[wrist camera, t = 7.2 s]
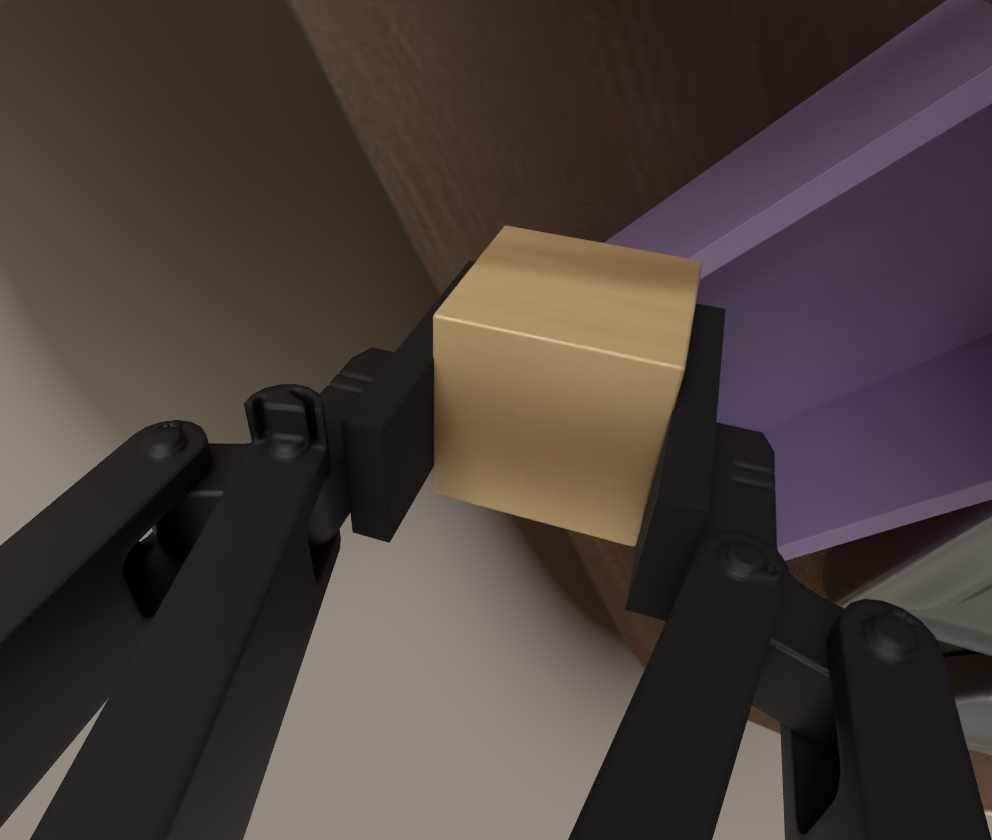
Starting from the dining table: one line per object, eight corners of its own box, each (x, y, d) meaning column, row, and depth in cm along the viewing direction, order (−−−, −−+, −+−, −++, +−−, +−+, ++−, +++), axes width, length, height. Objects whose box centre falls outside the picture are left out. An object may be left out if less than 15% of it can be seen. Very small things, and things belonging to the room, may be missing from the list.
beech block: (504, 224, 15) (431, 314, 12) (703, 259, 15) (686, 368, 11) (493, 384, 18) (431, 494, 15) (659, 422, 17) (634, 549, 14)
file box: (718, 454, 35) (708, 584, 28) (567, 268, 31) (515, 367, 25) (1114, 287, 25) (1239, 426, 19) (961, -12, 22) (1049, 29, 15)
